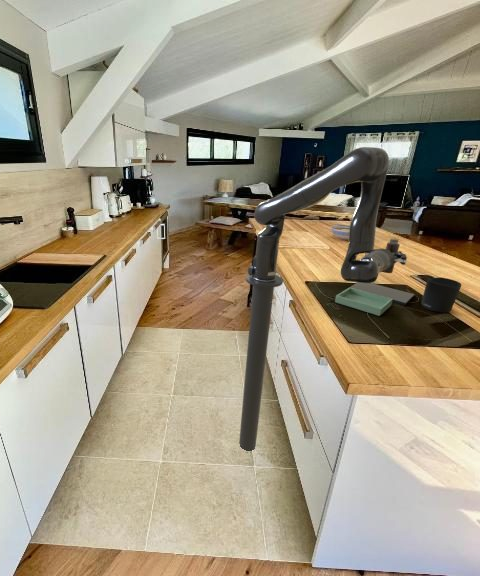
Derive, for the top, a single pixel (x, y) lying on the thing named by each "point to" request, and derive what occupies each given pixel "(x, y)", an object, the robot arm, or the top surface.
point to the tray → (364, 301)
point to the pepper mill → (392, 247)
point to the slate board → (385, 292)
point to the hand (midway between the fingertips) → (393, 252)
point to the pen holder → (440, 294)
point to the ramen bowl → (341, 231)
